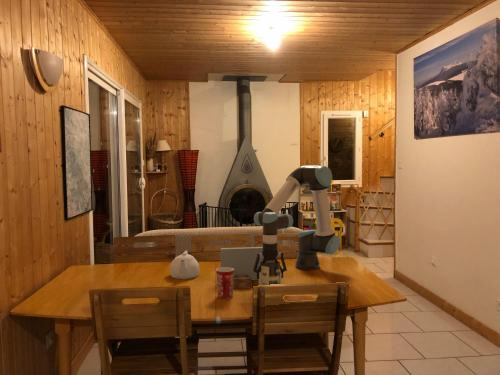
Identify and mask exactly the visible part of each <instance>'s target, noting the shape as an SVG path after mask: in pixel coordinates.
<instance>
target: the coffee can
mask: <svg viewBox="0 0 500 375" xmlns="http://www.w3.org/2000/svg"><path fill="white" fill-rule="evenodd" d="M277 261H278V260H277ZM278 262H279V263H276V262H275V261H274V260H273V261H272V260H269V261H266V262H265V263H264V264H263V263H262V261H261V262H260V265H261V271H260V273H261V285H270V284H280V266H281V261H278Z"/></svg>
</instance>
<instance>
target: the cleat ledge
mask: <svg viewBox="0 0 500 375" xmlns="http://www.w3.org/2000/svg"><path fill="white" fill-rule="evenodd" d="M252 282H253V280H252V278H249V276H248V275H234V277H233V289H248V288H249V289H250V288H253V287H252V286H253V283H252Z"/></svg>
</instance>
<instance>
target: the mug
mask: <svg viewBox="0 0 500 375" xmlns="http://www.w3.org/2000/svg"><path fill="white" fill-rule="evenodd" d="M215 274H216V285H217V287H216V290H217V297H218V298H219V299H230V298H232V297H233V296H234V288H233V277H234V269H233V268H229V267H222V268H221V267H218V268H216V269H215Z"/></svg>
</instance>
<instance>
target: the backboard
mask: <svg viewBox="0 0 500 375" xmlns="http://www.w3.org/2000/svg"><path fill="white" fill-rule="evenodd" d="M262 252H263V246H255V247H248V246H247V247H226V248H225V247H221V248H220V268H222V267H229V268H233V269H234V275H248V276H249V278H252V281H255V280H256V281H259V279H257V273H256V272H254V271H253V269H254V265H255V262H256V258H257V253H262ZM263 258H264V257H263V255H261V257H260V260H259V263H258V267H259V266H260V262H261V261H262V260H263ZM258 267H257V269H258Z"/></svg>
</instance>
